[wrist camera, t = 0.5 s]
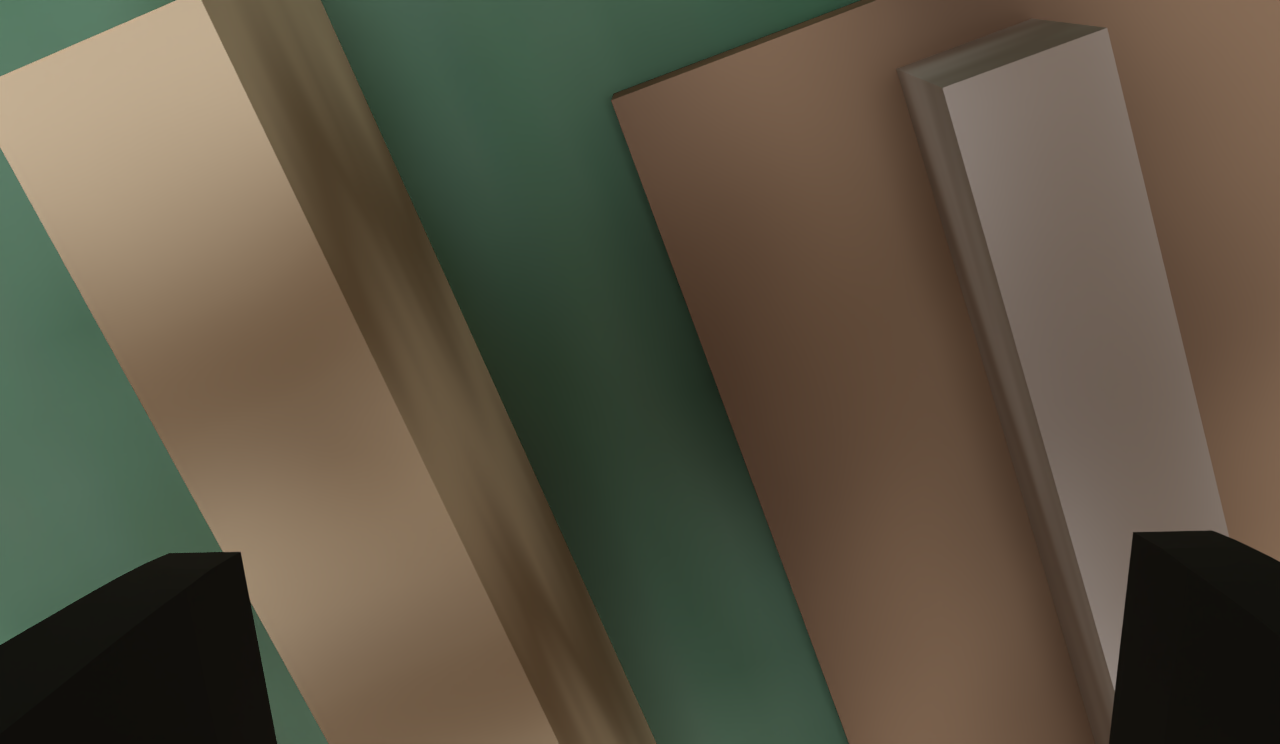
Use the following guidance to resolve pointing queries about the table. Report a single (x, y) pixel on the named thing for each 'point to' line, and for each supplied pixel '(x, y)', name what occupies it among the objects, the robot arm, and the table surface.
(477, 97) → the table surface
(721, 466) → the table surface
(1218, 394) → the ridge stand
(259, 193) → the maple bar
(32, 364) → the table surface
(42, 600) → the table surface
